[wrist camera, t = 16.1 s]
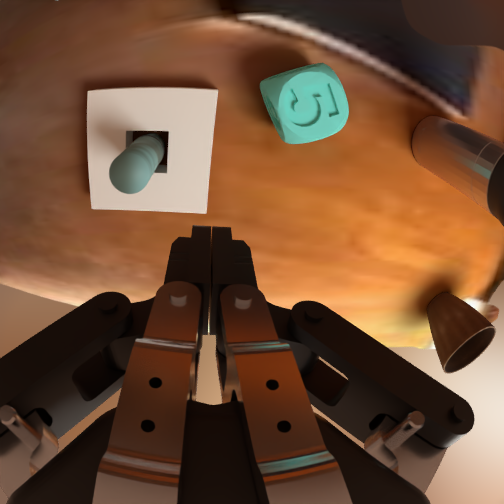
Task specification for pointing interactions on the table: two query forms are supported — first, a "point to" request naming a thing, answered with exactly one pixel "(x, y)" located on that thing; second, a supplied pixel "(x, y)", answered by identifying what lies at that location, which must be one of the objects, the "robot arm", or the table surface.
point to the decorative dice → (305, 103)
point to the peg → (137, 163)
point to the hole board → (152, 119)
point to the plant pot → (458, 331)
